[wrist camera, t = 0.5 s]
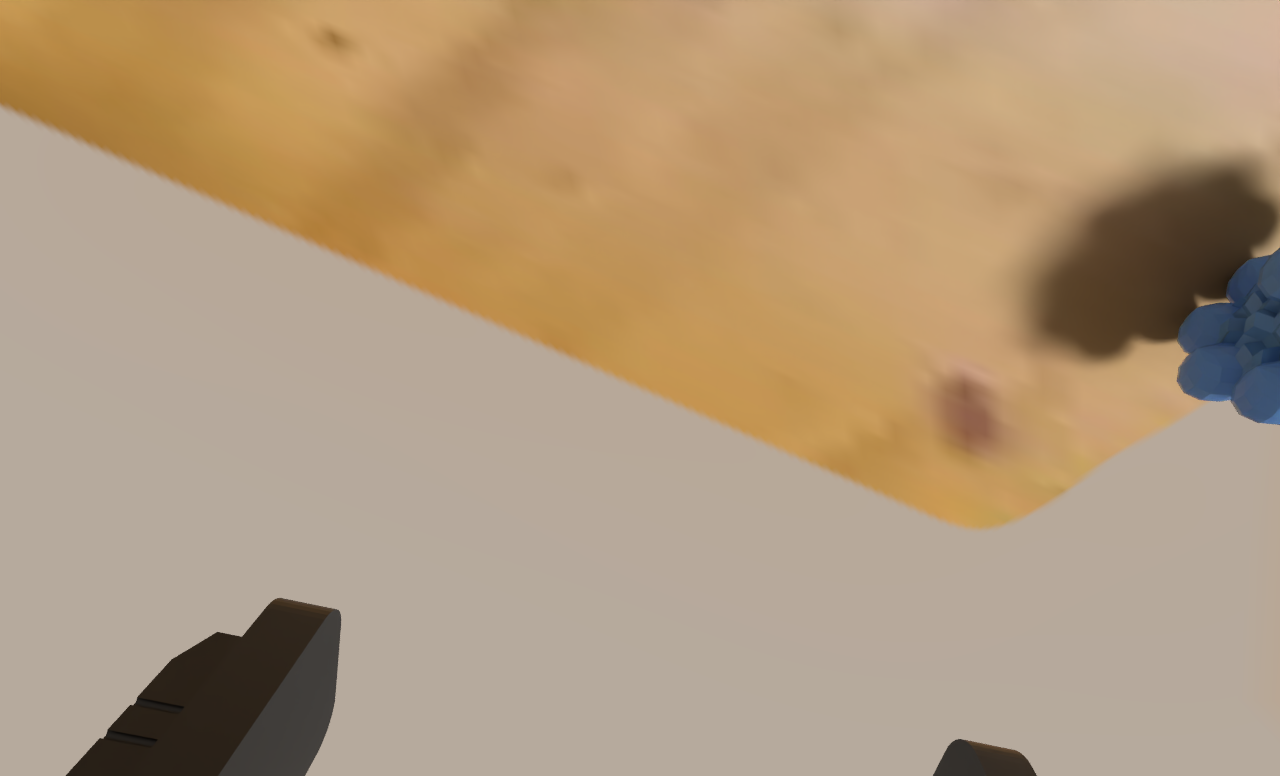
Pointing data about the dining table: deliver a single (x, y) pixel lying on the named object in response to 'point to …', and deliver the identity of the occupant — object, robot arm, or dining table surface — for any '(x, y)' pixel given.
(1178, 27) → the dining table surface
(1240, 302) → the grapes
